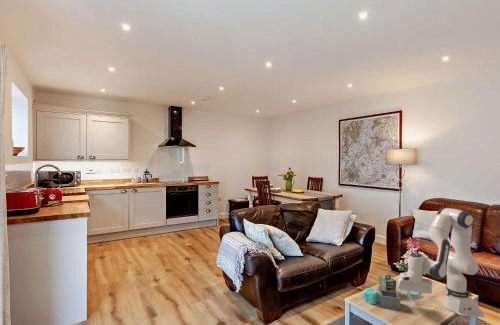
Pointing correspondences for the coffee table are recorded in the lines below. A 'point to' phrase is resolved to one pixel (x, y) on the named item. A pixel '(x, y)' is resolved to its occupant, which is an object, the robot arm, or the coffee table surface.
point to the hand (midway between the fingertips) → (413, 297)
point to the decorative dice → (371, 296)
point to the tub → (389, 299)
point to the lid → (413, 294)
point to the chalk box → (387, 283)
